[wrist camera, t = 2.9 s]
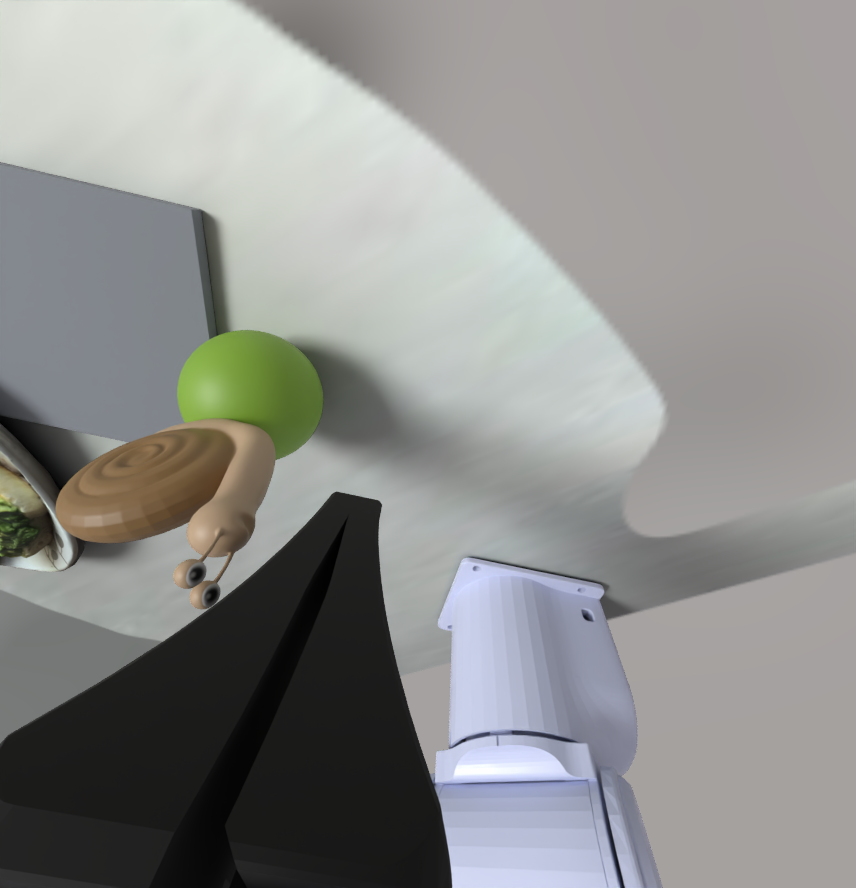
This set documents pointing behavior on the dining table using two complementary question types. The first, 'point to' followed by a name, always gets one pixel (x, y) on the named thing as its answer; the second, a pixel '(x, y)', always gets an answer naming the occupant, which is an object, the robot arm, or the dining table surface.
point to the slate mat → (97, 304)
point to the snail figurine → (203, 456)
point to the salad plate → (31, 513)
